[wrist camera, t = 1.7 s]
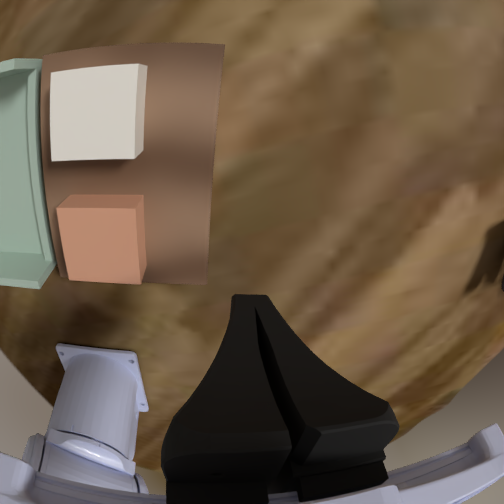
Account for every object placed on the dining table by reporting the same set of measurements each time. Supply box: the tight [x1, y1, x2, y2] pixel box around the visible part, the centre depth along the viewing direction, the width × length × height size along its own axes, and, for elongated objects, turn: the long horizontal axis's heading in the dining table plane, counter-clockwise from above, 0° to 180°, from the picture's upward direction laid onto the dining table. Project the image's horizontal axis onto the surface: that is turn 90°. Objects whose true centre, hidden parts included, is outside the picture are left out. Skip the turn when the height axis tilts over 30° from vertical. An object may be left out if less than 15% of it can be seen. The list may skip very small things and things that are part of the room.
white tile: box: [50, 64, 148, 161], centre depth 13 cm, size 4×4×2 cm
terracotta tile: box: [56, 195, 147, 284], centre depth 17 cm, size 4×4×2 cm
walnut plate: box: [40, 43, 225, 285], centre depth 17 cm, size 14×10×2 cm
